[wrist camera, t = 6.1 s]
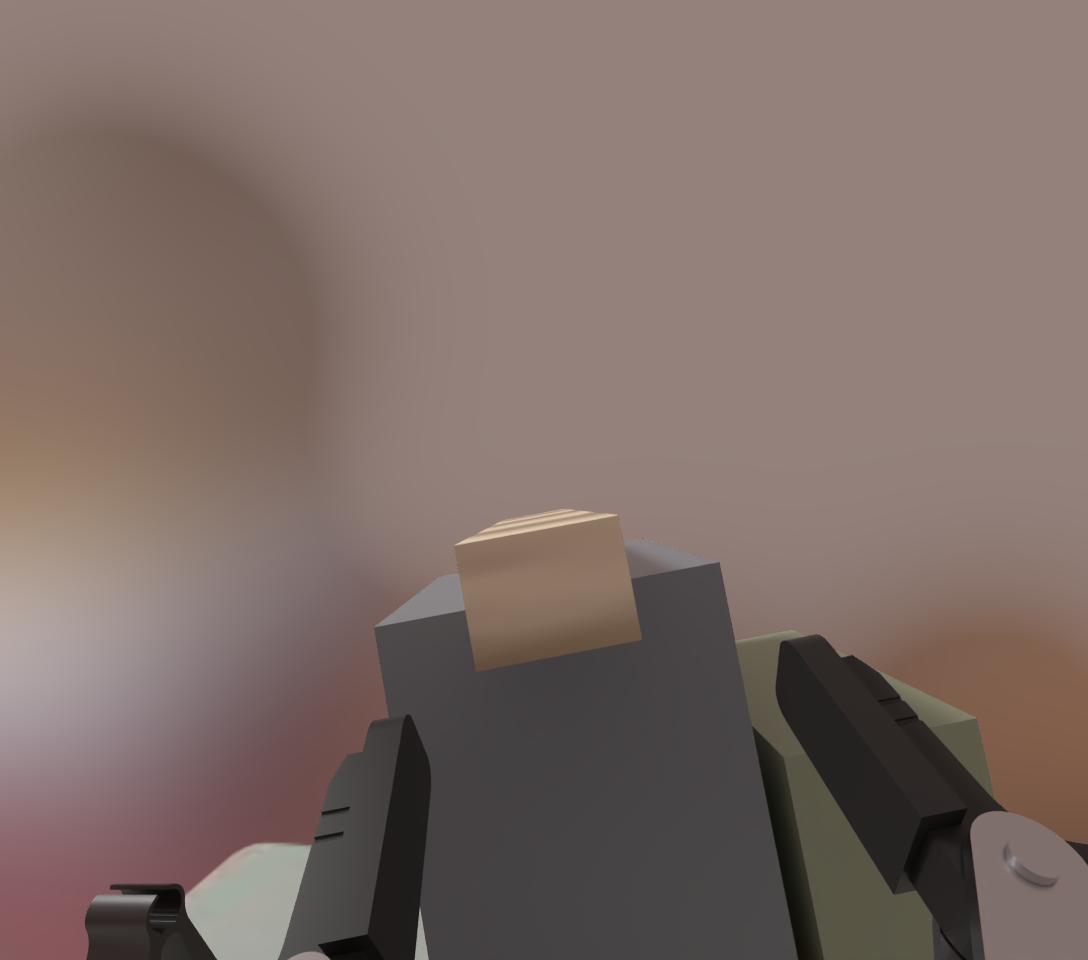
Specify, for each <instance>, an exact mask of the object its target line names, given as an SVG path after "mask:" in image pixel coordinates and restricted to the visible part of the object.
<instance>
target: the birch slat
mask: <svg viewBox="0 0 1088 960" xmlns="http://www.w3.org/2000/svg"><path fill="white" fill-rule="evenodd" d="M454 548H455V553H456V560H457V565H458V571H459V577H460V583H461V588H462V594H463V600H464V606H465V612H466V617H467V623H468V629H469V635H470V640H471V646H472V652H473V658H474V663H475V669H476V672H477V671H483V670H488V669H493V668H498V667H503V666H508V665H514V664H519V663H524V662H529V661H534V660H540V659H545V658H550V657H555V656H560V655H565V654H571V653H576V652H581V651H586V650H591V649H596V648H602V647H607V646H612V645H617V644H622V643H628V642H633V641H638V640H642V636H641V631H640V625H639V620H638V615H637V610H636V604H635V599H634V594H633V588H632V583H631V578H630V573H629V567H628V562H627V557H626V552H625V546H624V541H623V536H622V530H621V525H620V520H619V515H613V514H604V513H596V512H588V511H578V510H571V509H561V510H556V511H550V512H545V513H539V514H534V515H528V516H523V517H518V518H512V519H506V520H503V521H501V522H499V523H497V524H495V525H493V526H491V527H489V528H487V529H485V530H484V531H482V532H480V533H478V534H476V535H474V536H472V537H470V538H468V539H466V540H464V541H462V542H460V543H458V544H456V545H455V546H454Z"/></svg>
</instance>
